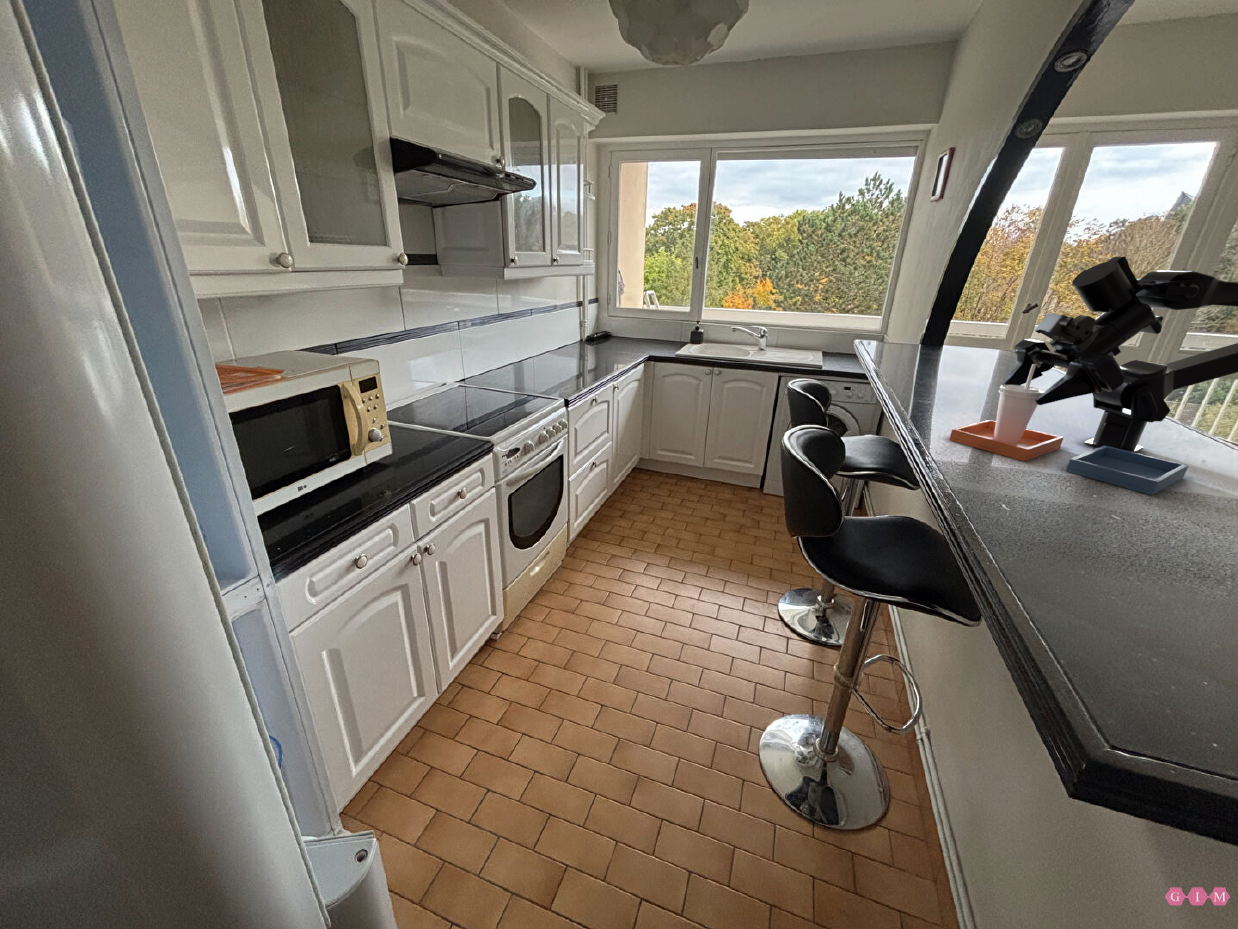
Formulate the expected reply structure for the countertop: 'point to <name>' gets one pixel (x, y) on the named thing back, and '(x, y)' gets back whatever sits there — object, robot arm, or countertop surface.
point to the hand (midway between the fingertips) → (1018, 396)
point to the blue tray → (1127, 469)
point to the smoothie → (1015, 410)
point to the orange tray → (1024, 450)
